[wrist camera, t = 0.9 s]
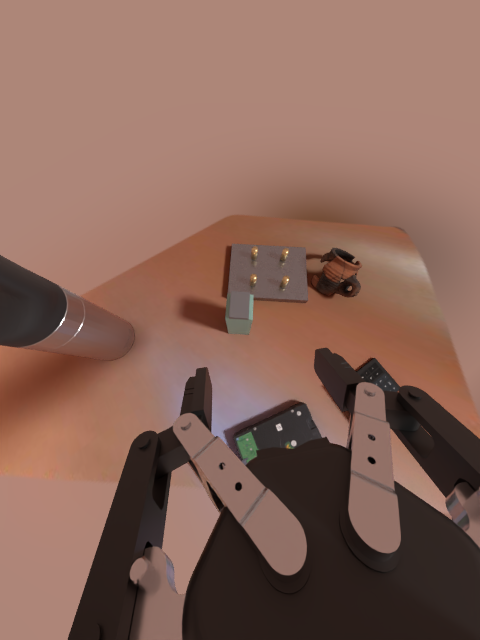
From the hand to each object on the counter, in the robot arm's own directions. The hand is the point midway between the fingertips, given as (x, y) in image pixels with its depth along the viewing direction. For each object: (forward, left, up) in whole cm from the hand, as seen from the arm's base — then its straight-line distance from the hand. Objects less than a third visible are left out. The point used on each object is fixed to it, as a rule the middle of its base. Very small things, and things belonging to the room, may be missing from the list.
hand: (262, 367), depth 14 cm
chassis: (+4, +24, -27) cm, 36 cm away
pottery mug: (+19, +23, -27) cm, 40 cm away
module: (-2, +11, -27) cm, 29 cm away
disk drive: (+7, -12, -27) cm, 31 cm away
